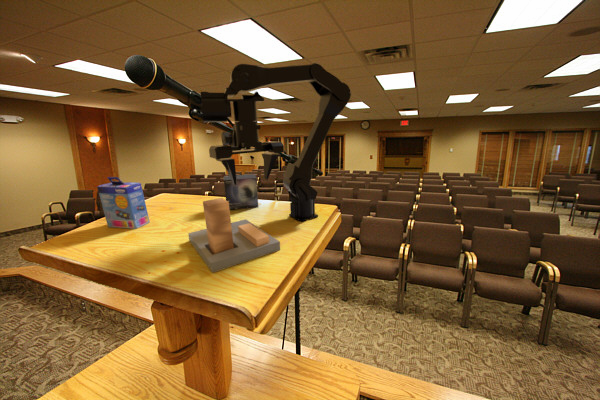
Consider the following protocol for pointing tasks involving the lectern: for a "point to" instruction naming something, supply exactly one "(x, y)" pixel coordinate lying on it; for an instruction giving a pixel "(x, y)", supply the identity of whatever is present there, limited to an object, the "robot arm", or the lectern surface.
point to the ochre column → (218, 225)
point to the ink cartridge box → (123, 204)
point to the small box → (241, 191)
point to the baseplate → (235, 245)
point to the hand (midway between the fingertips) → (251, 182)
